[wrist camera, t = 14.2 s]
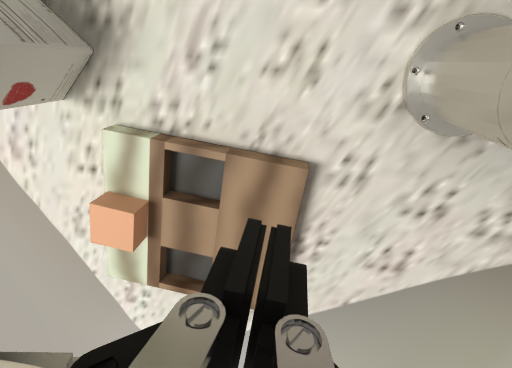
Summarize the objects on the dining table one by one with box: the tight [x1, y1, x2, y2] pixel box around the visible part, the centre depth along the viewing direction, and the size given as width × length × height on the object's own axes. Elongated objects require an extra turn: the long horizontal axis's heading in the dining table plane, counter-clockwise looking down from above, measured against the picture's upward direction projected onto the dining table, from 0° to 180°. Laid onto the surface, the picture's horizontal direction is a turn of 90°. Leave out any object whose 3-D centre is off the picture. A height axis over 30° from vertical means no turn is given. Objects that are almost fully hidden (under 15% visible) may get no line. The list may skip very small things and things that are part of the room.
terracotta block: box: [89, 191, 149, 252], centre depth 42 cm, size 6×6×4 cm
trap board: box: [102, 125, 309, 310], centre depth 44 cm, size 27×24×3 cm
